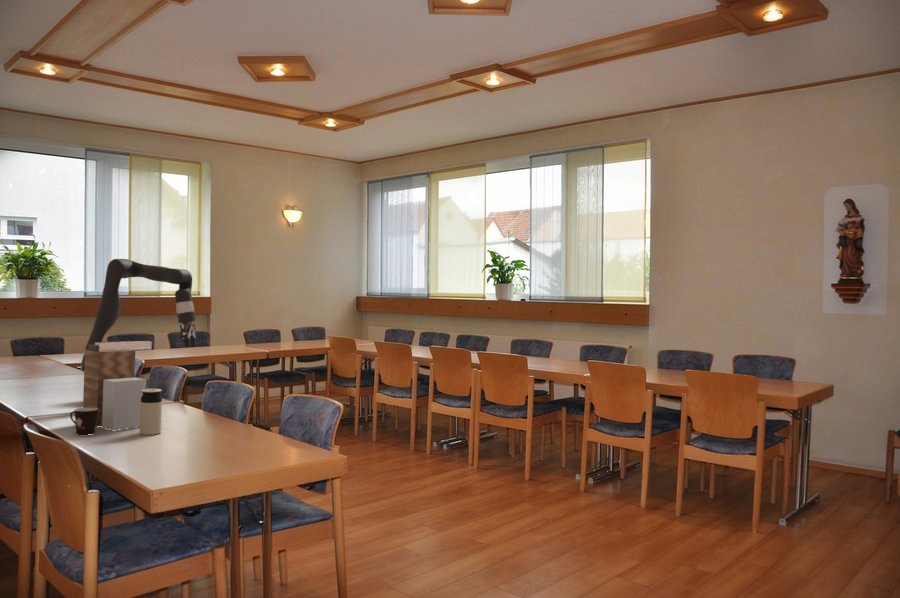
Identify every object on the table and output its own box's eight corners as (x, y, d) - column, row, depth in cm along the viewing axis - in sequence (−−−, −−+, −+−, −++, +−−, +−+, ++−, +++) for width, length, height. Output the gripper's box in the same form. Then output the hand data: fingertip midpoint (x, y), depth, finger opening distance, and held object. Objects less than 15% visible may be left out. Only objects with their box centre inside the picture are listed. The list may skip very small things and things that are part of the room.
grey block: (112, 431, 284) (114, 381, 284) (101, 428, 290) (103, 379, 290) (144, 426, 296) (146, 379, 296) (133, 424, 301) (135, 377, 301)
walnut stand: (96, 427, 290) (99, 346, 290) (82, 423, 297) (85, 344, 297) (132, 423, 303) (135, 345, 303) (118, 419, 310) (121, 343, 310)
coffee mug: (100, 434, 277) (101, 409, 277) (77, 437, 271) (78, 411, 271) (90, 430, 285) (90, 406, 285) (67, 432, 279) (68, 408, 279)
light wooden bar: (98, 351, 295) (99, 343, 295) (94, 350, 297) (95, 342, 297) (151, 349, 314) (151, 341, 314) (147, 348, 316) (147, 341, 316)
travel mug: (152, 436, 278) (154, 391, 278) (135, 434, 280) (136, 390, 280) (164, 432, 286) (166, 389, 286) (147, 431, 287) (149, 388, 287)
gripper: (182, 313, 322) (187, 347, 322) (172, 312, 308) (177, 348, 307) (198, 311, 323) (203, 345, 322) (189, 310, 309) (194, 345, 308)
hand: (190, 346), depth 315 cm, fingers open, 8 cm apart
